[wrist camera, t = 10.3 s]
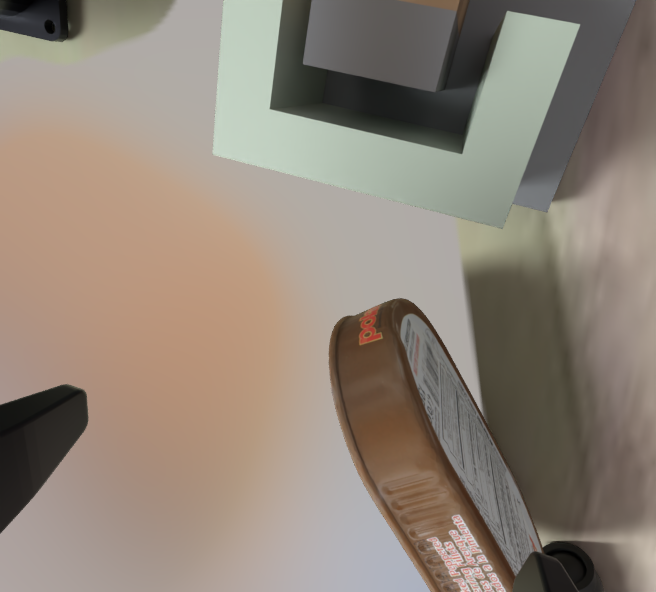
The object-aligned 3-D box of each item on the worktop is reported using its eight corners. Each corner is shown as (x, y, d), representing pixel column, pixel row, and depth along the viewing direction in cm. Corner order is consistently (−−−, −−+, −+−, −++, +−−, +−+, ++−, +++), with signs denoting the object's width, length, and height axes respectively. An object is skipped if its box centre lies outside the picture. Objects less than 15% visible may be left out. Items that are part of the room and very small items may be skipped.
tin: (350, 287, 20) (285, 402, 13) (415, 258, 19) (385, 368, 12) (489, 530, 24) (501, 731, 16) (552, 520, 23) (595, 733, 15)
